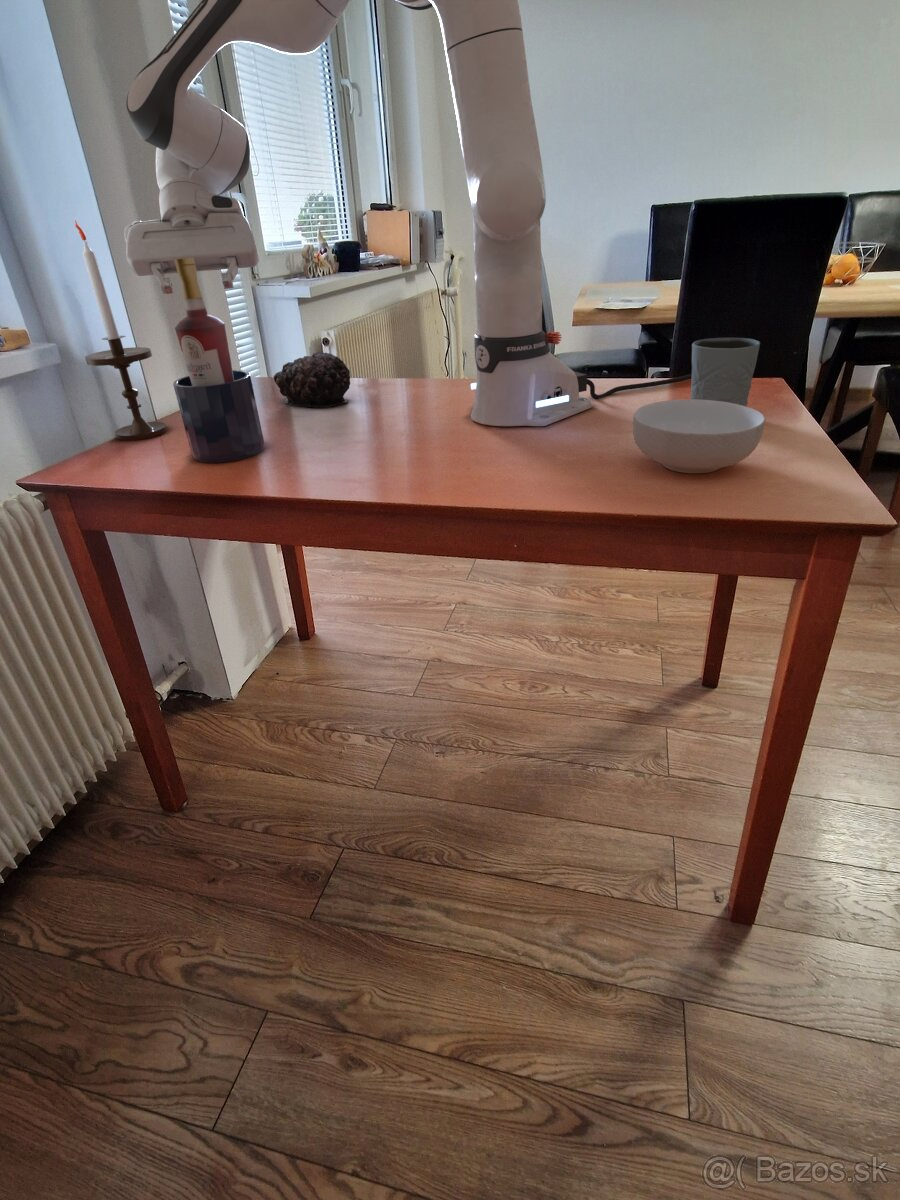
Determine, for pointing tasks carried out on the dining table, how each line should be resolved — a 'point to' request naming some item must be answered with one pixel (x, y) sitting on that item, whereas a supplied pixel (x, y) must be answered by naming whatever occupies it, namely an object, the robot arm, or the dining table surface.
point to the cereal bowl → (697, 433)
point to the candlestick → (118, 354)
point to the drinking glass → (723, 369)
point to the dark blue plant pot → (220, 419)
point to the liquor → (201, 334)
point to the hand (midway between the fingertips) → (197, 288)
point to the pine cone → (314, 381)
